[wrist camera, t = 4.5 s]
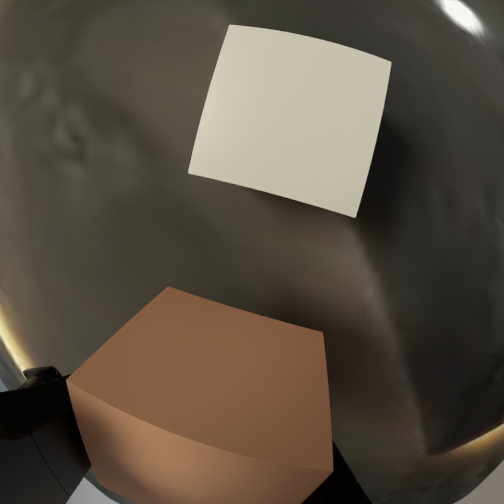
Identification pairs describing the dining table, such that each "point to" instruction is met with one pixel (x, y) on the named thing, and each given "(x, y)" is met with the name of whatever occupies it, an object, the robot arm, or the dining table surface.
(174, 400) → the terracotta cube
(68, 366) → the dining table surface
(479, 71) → the dining table surface
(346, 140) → the off-white cube
